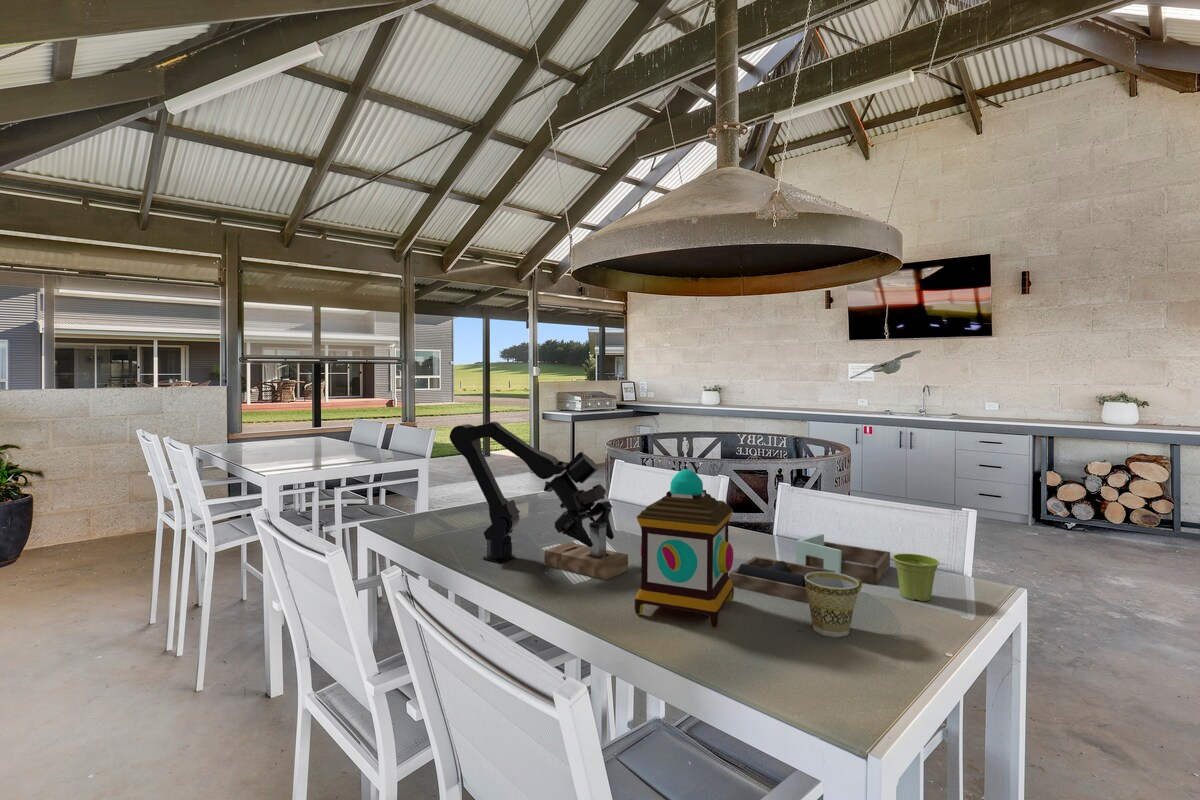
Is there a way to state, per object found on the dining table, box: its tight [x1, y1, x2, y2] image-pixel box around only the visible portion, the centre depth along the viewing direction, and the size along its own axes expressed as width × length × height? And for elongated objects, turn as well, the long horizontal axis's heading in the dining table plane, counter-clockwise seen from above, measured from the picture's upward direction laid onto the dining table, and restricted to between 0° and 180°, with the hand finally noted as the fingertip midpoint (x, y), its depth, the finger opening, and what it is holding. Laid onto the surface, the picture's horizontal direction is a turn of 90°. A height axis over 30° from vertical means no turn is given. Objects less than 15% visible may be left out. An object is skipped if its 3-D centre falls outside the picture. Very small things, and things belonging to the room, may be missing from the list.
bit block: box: [544, 541, 629, 581], centre depth 151 cm, size 20×10×4 cm, turn 54°
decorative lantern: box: [634, 468, 735, 629], centre depth 124 cm, size 20×20×30 cm
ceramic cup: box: [804, 572, 863, 638], centre depth 113 cm, size 13×10×10 cm
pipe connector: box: [738, 559, 805, 587], centre depth 138 cm, size 12×5×15 cm
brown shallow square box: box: [806, 541, 891, 586], centre depth 151 cm, size 17×17×4 cm
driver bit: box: [589, 521, 607, 559], centre depth 149 cm, size 3×3×12 cm
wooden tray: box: [728, 556, 835, 604], centre depth 139 cm, size 20×17×3 cm
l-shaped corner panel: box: [795, 533, 842, 574], centre depth 151 cm, size 12×12×8 cm
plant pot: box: [892, 553, 940, 602], centre depth 131 cm, size 9×9×9 cm
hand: (602, 542), depth 148 cm, fingers open, 9 cm apart
